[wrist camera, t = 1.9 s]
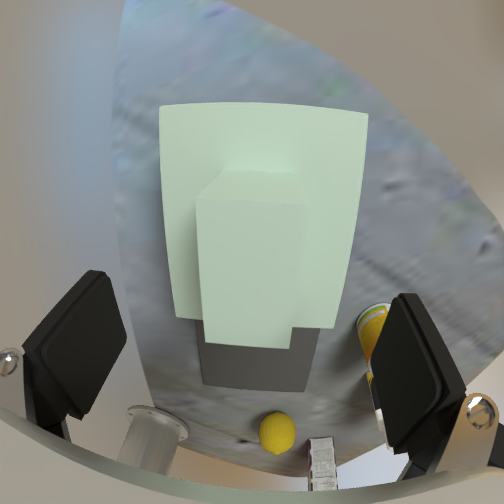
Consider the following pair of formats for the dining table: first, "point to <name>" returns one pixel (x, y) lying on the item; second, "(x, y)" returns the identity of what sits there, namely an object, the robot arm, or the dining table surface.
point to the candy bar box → (321, 464)
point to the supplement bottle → (371, 328)
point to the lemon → (277, 433)
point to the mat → (259, 363)
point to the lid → (259, 215)
